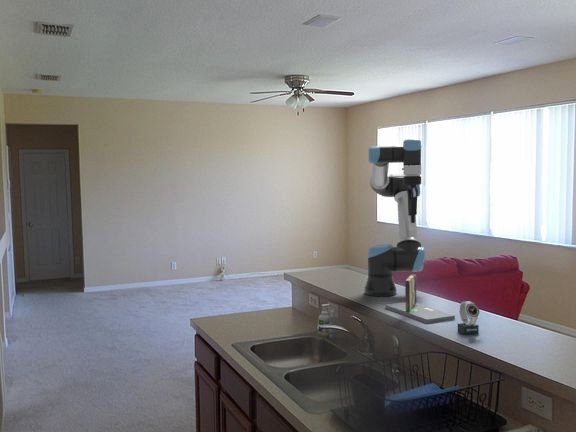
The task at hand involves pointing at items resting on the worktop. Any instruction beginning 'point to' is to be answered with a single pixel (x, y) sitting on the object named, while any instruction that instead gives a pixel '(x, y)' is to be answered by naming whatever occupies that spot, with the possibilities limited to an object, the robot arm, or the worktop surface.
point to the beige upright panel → (410, 292)
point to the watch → (472, 313)
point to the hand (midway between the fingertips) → (412, 230)
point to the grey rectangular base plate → (421, 313)
